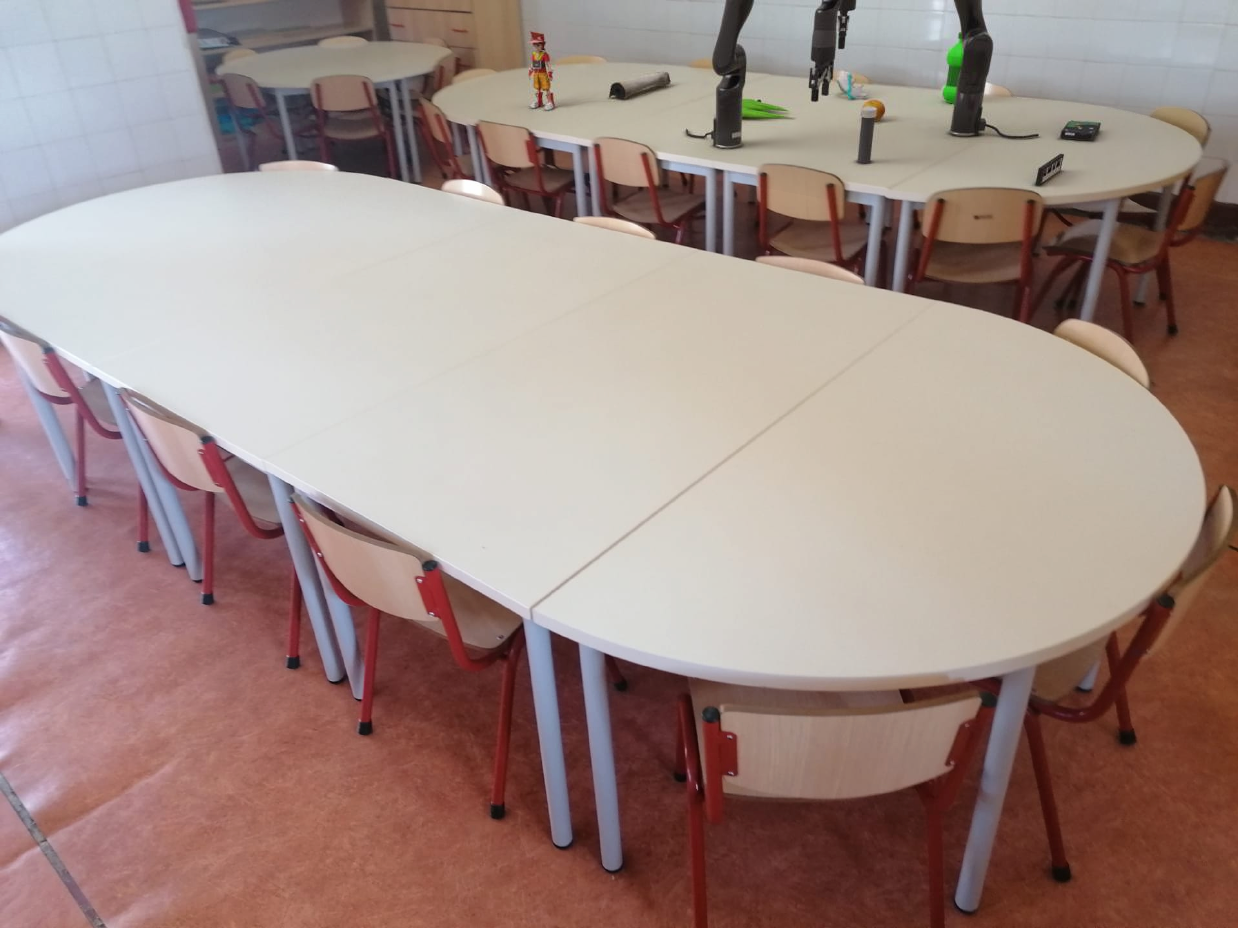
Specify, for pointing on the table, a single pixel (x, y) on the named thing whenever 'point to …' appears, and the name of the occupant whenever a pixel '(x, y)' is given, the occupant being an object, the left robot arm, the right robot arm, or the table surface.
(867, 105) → the fruit
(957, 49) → the green dumbbell
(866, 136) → the dark cylinder
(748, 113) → the toy
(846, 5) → the right robot arm
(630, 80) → the rolled mat
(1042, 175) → the midi keyboard
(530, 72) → the toy
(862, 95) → the anatomical model
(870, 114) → the lid
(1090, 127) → the disk drive
